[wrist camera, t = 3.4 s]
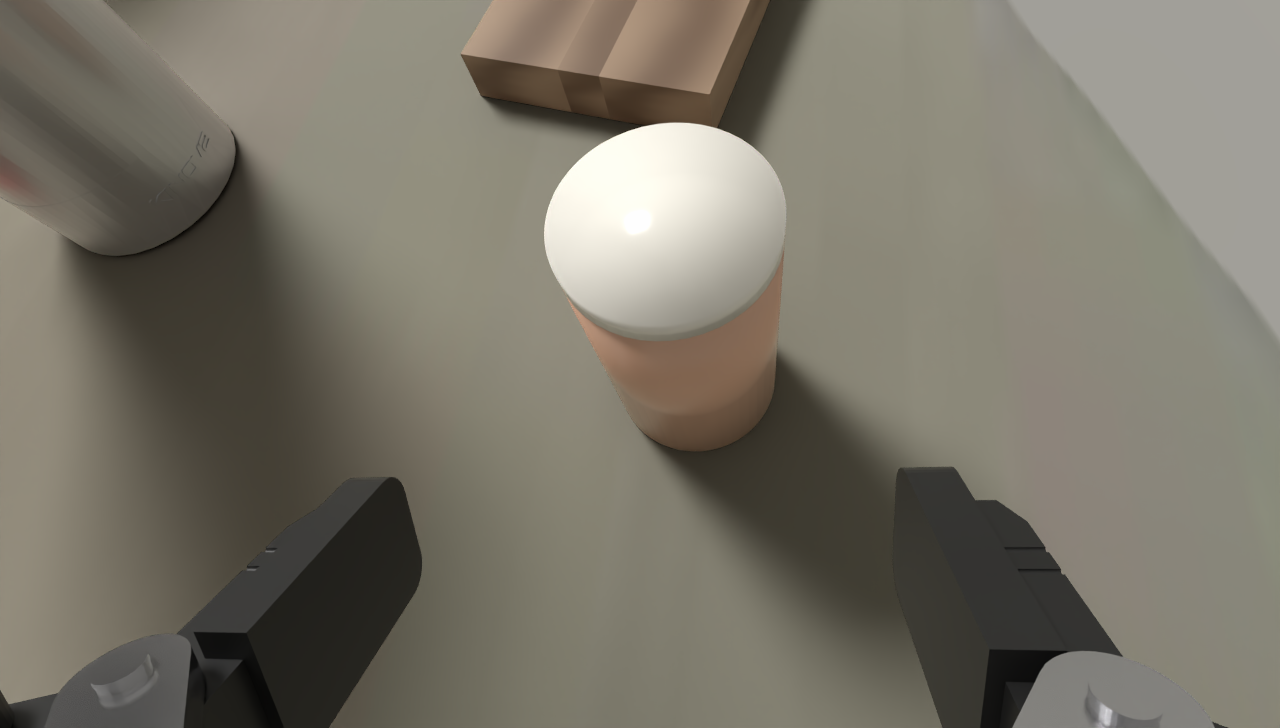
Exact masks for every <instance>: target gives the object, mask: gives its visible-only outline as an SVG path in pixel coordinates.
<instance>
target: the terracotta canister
mask: <svg viewBox="0 0 1280 728" xmlns="http://www.w3.org/2000/svg"><path fill="white" fill-rule="evenodd" d="M785 230H786V202H785V197H784V193H783V189H782V186H781V184H780V181H779V179H778V177H777V175H776V173H775V172H774V170H773V168H772V167H771V165H770V164H769V163H768V162H767V160H766V159H765V158H764V157H763V156H762V155H761V154H760V153H759V152H758V151H757V150H756V149H755V148H753V147H752V146H751V145H749V144H748V143H746V142H745V141H743V140H742V139H740V138H738V137H736V136H734V135H732V134H730V133H728V132H725V131H723V130H720V129H717V128H714V127H709V126H705V125H700V124H692V123H663V124H655V125H649V126H644V127H640V128H637V129H633V130H630V131H627V132H625V133H622V134H620V135H617V136H615V137H613V138H611V139H609V140H607V141H605V142H604V143H602V144H600V145H599V146H597V147H596V148H594V149H593V150H591V151H590V152H589V153H587V154H586V155H585V156H584V157H583V158H581V159H580V160H579V161H578V162H577V163H576V164H575V165H574V166H573V167H572V168H571V169H570V170H569V172H568V173H567V174H566V176H565V177H564V178H563V180H562V181H561V182H560V184H559V186H558V188H557V189H556V191H555V193H554V195H553V197H552V200H551V202H550V205H549V208H548V211H547V215H546V220H545V229H544V238H545V248H546V253H547V258H548V260H549V263H550V266H551V268H552V270H553V272H554V274H555V276H556V278H557V280H558V282H559V284H560V286H561V287H562V289H563V291H564V293H565V295H566V297H567V299H568V301H569V303H570V304H571V306H572V308H573V310H574V312H575V314H576V316H577V318H578V320H579V321H580V323H581V325H582V327H583V329H584V331H585V333H586V335H587V336H588V338H589V340H590V342H591V344H592V346H593V348H594V350H595V352H596V353H597V355H598V357H599V359H600V361H601V363H602V365H603V367H604V369H605V370H606V372H607V374H608V376H609V378H610V380H611V382H612V384H613V386H614V387H615V389H616V391H617V393H618V395H619V397H620V399H621V401H622V403H623V404H624V406H625V408H626V410H627V412H628V414H629V415H630V417H631V419H632V420H633V422H634V423H635V424H636V425H637V427H638V428H639V429H640V430H641V431H642V432H643V433H645V434H646V435H647V436H649V437H650V438H651V439H653V440H655V441H656V442H658V443H660V444H662V445H665V446H667V447H670V448H673V449H677V450H682V451H708V450H714V449H717V448H721V447H724V446H726V445H729V444H731V443H733V442H735V441H737V440H739V439H740V438H742V437H743V436H744V435H746V434H747V433H748V432H750V431H751V430H752V429H753V428H754V427H755V426H756V425H757V424H758V422H759V421H760V420H761V418H762V417H763V416H764V414H765V412H766V411H767V409H768V407H769V404H770V402H771V399H772V396H773V392H774V385H775V373H776V359H777V345H778V330H779V316H780V301H781V287H782V273H783V258H784V244H785Z"/></svg>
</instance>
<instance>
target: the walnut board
mask: <svg viewBox="0 0 1280 728" xmlns="http://www.w3.org/2000/svg"><path fill="white" fill-rule="evenodd" d="M769 2H770V0H493V1H492V3H491V5H490V6H489V8H488V10H487V11H486V13H485V14H484V16H483V18H482V19H481V21H480V23H479V24H478V26H477V28H476V29H475V31H474V33H473V34H472V36H471V37H470V39H469V41H468V42H467V44H466V46H465V47H464V49H463V51H462V52H461V56H462V58H463V60H464V62H465V64H466V66H467V68H468V70H469V72H470V74H471V76H472V78H473V80H474V83H475V85H476V87H477V89H478V91H479V93H480V95H481V96H485V97H491V98H496V99H502V100H507V101H513V102H518V103H524V104H530V105H535V106H541V107H546V108H552V109H557V110H563V111H568V112H574V113H579V114H585V115H590V116H596V117H601V118H607V119H612V120H618V121H623V122H629V123H634V124H640V125H645V126H649V125H655V124H663V123H692V124H700V125H705V126H709V127H714V128H717V127H718V125H719V122H720V120H721V118H722V115H723V113H724V110H725V108H726V106H727V103H728V101H729V98H730V96H731V93H732V91H733V89H734V86H735V84H736V81H737V79H738V77H739V74H740V72H741V69H742V67H743V65H744V62H745V60H746V57H747V55H748V52H749V50H750V48H751V45H752V43H753V40H754V38H755V36H756V33H757V31H758V28H759V26H760V23H761V21H762V19H763V16H764V14H765V11H766V9H767V7H768V4H769Z"/></svg>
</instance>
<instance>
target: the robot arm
mask: <svg viewBox="0 0 1280 728" xmlns="http://www.w3.org/2000/svg"><path fill="white" fill-rule="evenodd" d="M235 151H236V150H235V143H234V137H233V135H232V133H231V131H230V129H229V127H228V126H227V125H226V124H225V123H224V122H223V121H222V120H221V119H220V118H219V117H218V116H217V115H216V114H215V113H214V112H213V110H212V109H211V108H210V107H209V106H208V105H207V104H206V103H205V102H204V101H203V100H202V99H201V98H200V97H199V96H198V95H197V94H196V93H195V92H194V91H193V90H192V89H191V88H190V87H189V86H188V85H187V84H186V83H185V82H184V81H183V80H182V79H181V78H180V77H179V76H178V75H177V74H176V73H175V72H174V71H173V70H172V69H171V68H170V67H169V66H168V65H167V64H166V63H165V61H164V60H163V59H162V58H161V57H160V56H159V55H158V54H157V53H156V52H155V51H154V50H153V49H152V48H151V47H150V46H149V45H148V44H147V43H146V42H145V41H144V40H143V39H142V38H141V37H140V36H139V35H138V34H137V33H136V32H135V31H134V30H133V29H132V28H131V27H130V26H129V25H128V24H127V23H126V22H125V21H124V20H123V19H122V18H121V17H120V16H119V15H118V14H117V13H116V12H115V11H114V10H113V9H112V8H111V7H110V6H109V5H108V4H107V3H106V2H105V1H104V0H0V197H1V198H2V199H4V200H6V201H7V202H9V203H11V204H12V205H14V206H16V207H17V208H19V209H21V210H22V211H24V212H26V213H27V214H29V215H31V216H32V217H34V218H35V219H37V220H39V221H40V222H42V223H44V224H45V225H47V226H49V227H50V228H52V229H54V230H55V231H57V232H59V233H60V234H62V235H64V236H65V237H67V238H69V239H70V240H72V241H74V242H75V243H77V244H78V245H80V246H82V247H83V248H85V249H87V250H89V251H92V252H95V253H98V254H101V255H111V256H121V255H128V254H135V253H139V252H142V251H145V250H148V249H151V248H154V247H156V246H158V245H160V244H162V243H164V242H166V241H168V240H170V239H172V238H174V237H175V236H177V235H178V234H180V233H181V232H183V231H184V230H186V229H187V228H188V227H190V226H191V225H192V224H193V223H194V222H196V221H197V220H198V219H199V218H200V217H201V216H202V215H203V214H204V213H205V212H206V211H207V210H208V209H209V208H210V206H211V205H212V204H213V203H214V202H215V200H216V199H217V198H218V197H219V195H220V193H221V192H222V190H223V188H224V187H225V185H226V183H227V182H228V179H229V177H230V174H231V171H232V168H233V166H234V159H235ZM421 571H422V557H421V551H420V547H419V544H418V540H417V536H416V532H415V528H414V525H413V521H412V517H411V513H410V509H409V505H408V502H407V498H406V494H405V491H404V487H403V485H402V484H401V482H400V481H399V480H398V479H397V478H394V477H377V478H350V479H348V480H346V481H345V482H344V483H343V484H342V485H341V486H340V487H339V488H338V489H337V490H336V491H335V492H334V493H333V494H332V495H331V496H330V497H329V498H328V499H327V500H326V501H325V502H324V503H323V504H322V505H321V506H320V507H319V508H317V509H316V510H314V511H313V512H311V513H309V514H308V515H306V516H304V517H303V518H301V519H299V520H298V521H296V522H295V523H293V524H291V525H290V526H288V527H287V528H286V529H285V530H284V531H283V532H282V533H281V534H280V535H279V536H278V537H277V538H276V539H274V540H273V541H272V542H271V543H270V544H269V545H268V546H267V547H266V551H265V552H261V553H260V554H259V555H258V556H257V557H256V558H255V559H254V560H253V561H252V562H251V563H250V564H249V565H248V566H247V570H246V571H241V572H240V573H239V574H238V575H237V576H236V577H235V578H234V579H233V580H232V581H231V582H230V583H229V584H228V585H227V586H226V587H225V588H224V589H223V590H222V591H221V592H220V593H219V594H218V595H216V596H215V597H214V598H213V599H212V600H211V601H210V602H209V603H208V604H207V605H206V606H205V607H204V608H203V609H202V610H201V611H200V612H199V613H198V614H197V615H196V616H195V617H194V618H193V619H192V620H191V621H190V622H188V623H187V624H186V625H185V626H184V627H183V628H182V629H181V630H180V631H179V632H178V633H177V634H158V635H152V636H148V637H144V638H141V639H138V640H135V641H132V642H129V643H127V644H124V645H122V646H120V647H118V648H116V649H114V650H112V651H110V652H108V653H106V654H104V655H103V656H101V657H99V658H97V659H96V660H94V661H93V662H91V663H90V664H88V665H87V666H86V667H84V668H83V669H82V670H81V671H79V672H78V673H77V674H76V675H75V676H74V677H72V678H71V679H70V680H69V681H68V682H67V683H66V684H65V686H64V687H63V688H62V689H61V690H60V692H59V693H57V694H53V695H48V696H44V697H40V698H35V699H31V700H26V701H22V702H18V703H13V704H8V703H7V701H6V699H5V697H4V696H3V694H2V692H1V691H0V728H329V726H330V725H331V723H332V722H333V720H334V719H335V717H336V715H337V714H338V712H339V711H340V709H341V708H342V706H343V705H344V703H345V701H346V700H347V698H348V697H349V695H350V694H351V692H352V690H353V689H354V687H355V686H356V684H357V683H358V681H359V679H360V678H361V676H362V675H363V673H364V672H365V670H366V669H367V667H368V665H369V664H370V662H371V661H372V659H373V658H374V656H375V654H376V653H377V651H378V650H379V648H380V647H381V645H382V643H383V642H384V640H385V639H386V637H387V636H388V634H389V633H390V631H391V629H392V628H393V626H394V625H395V623H396V622H397V620H398V618H399V617H400V615H401V614H402V612H403V611H404V609H405V607H406V606H407V604H408V603H409V601H410V600H411V598H412V596H413V595H414V593H415V591H416V590H417V587H418V584H419V581H420V577H421ZM893 572H894V580H895V586H896V591H897V595H898V598H899V601H900V604H901V607H902V610H903V613H904V616H905V619H906V622H907V625H908V628H909V630H910V633H911V636H912V639H913V642H914V645H915V648H916V651H917V654H918V657H919V660H920V663H921V666H922V669H923V672H924V675H925V678H926V680H927V683H928V686H929V689H930V692H931V695H932V698H933V701H934V704H935V707H936V710H937V713H938V716H939V719H940V722H941V725H942V727H943V728H1228V727H1224V726H1222V725H1219V724H1216V723H1214V722H1212V721H1211V719H1210V717H1209V716H1208V714H1207V713H1206V712H1205V710H1204V709H1203V708H1202V706H1201V705H1200V704H1199V703H1198V702H1197V701H1196V700H1195V699H1194V698H1193V697H1192V696H1191V695H1190V694H1189V693H1188V692H1186V691H1185V690H1184V689H1183V688H1182V687H1180V686H1179V685H1178V684H1176V683H1175V682H1173V681H1172V680H1170V679H1169V678H1167V677H1166V676H1164V675H1162V674H1161V673H1159V672H1157V671H1155V670H1153V669H1151V668H1149V667H1147V666H1145V665H1143V664H1140V663H1138V662H1135V661H1133V660H1130V659H1127V658H1124V657H1123V656H1122V655H1121V653H1120V652H1119V650H1118V649H1117V648H1116V646H1115V645H1114V643H1113V642H1112V641H1111V639H1110V638H1109V636H1108V635H1107V634H1106V632H1105V631H1104V629H1103V628H1102V626H1101V625H1100V624H1099V622H1098V621H1097V619H1096V618H1095V617H1094V615H1093V614H1092V612H1091V611H1090V610H1089V608H1088V607H1087V605H1086V604H1085V602H1084V601H1083V600H1082V598H1081V597H1080V595H1079V594H1078V593H1077V591H1076V590H1075V588H1074V587H1073V586H1072V584H1071V583H1070V581H1069V580H1068V578H1067V577H1066V576H1065V575H1062V574H1061V569H1060V567H1059V566H1058V564H1057V563H1056V561H1055V560H1054V559H1053V557H1052V556H1051V554H1050V553H1049V552H1046V550H1045V546H1044V545H1043V543H1042V542H1041V540H1040V539H1039V537H1038V536H1037V535H1036V533H1035V532H1034V530H1033V529H1032V528H1031V526H1030V525H1029V523H1028V522H1027V521H1026V520H1024V519H1023V518H1021V517H1020V516H1018V515H1017V514H1016V513H1014V512H1013V511H1011V510H1010V509H1008V508H1007V507H1005V506H1004V505H1003V504H1001V503H1000V502H998V501H997V500H975V499H974V498H973V496H972V495H971V493H970V491H969V490H968V488H967V486H966V485H965V483H964V482H963V480H962V478H961V477H960V475H959V473H958V472H957V470H956V469H955V468H954V467H916V468H900V469H899V470H898V473H897V478H896V492H895V513H894V534H893Z"/></svg>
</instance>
